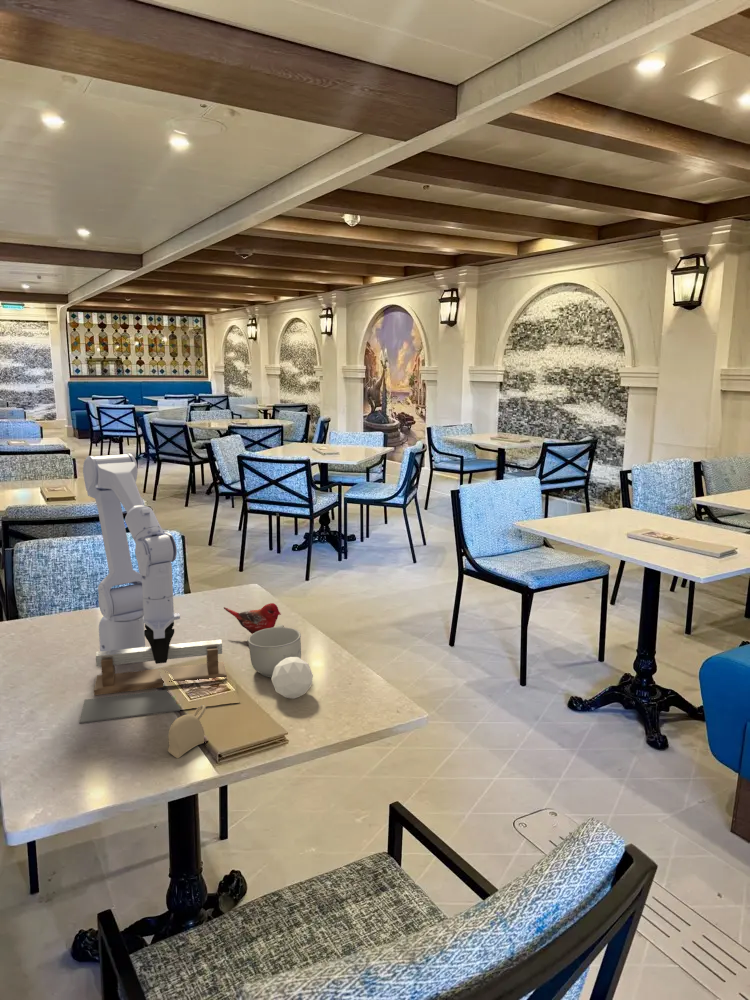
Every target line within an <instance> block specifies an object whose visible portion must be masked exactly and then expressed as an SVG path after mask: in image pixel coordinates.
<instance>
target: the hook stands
mask: <svg viewBox="0 0 750 1000" xmlns="http://www.w3.org/2000/svg"><path fill="white" fill-rule="evenodd" d="M115 666H116V665H113V660H112V659H106V660H101V666H100V667H101V674H99V675H98V674H97V675H96V678H95V682H94V683H95V684H94V689H93V694H94V696H100V695H109V694H118V693H125V692H135V691H142V690H152V689H160V688H164V687H163V683H164V681H163V680H162V678H161V676H160V673H161V672H160V671H158V670H161V669H162V670H164V671H165V670H166V671H168V672H169V673H170V674H171V675H172V676H173V679H174V680H173V679H172V680H173V681H185V680H197V679H198V680H199V679H209V678H216V677H227V670H226V666H225V662H224V661H219V654H218V649H217V648H212V649H207V655H206V663H200V664H190V665H182V666H181V665H180V666H172V667H163V668H162V667H161V668H154V669H153V668H152V669H145V670H136V671H135V670H134V671H126V672H117V673H116V670H115V669H116V668H115ZM166 671H165V673H166ZM168 672H167V673H168ZM170 680H171V679H170ZM169 682H170V681H169ZM171 682H172V681H171Z"/></svg>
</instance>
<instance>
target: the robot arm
mask: <svg viewBox="0 0 750 1000" xmlns="http://www.w3.org/2000/svg"><path fill="white" fill-rule="evenodd" d="M138 471H139V470H138V462H137V460H136V458H135V456H134V455H133V454H132V453H125V454H124V453H123V454H109V455H96V456H94V455H88V456H86V458H85V459H84V461H83V467H82V474H83V481H84V486H85V490H86V493H87V496H88V497H90V498H93V499H94V501H95V503H96V504H95V505H96V507H97V512H98V513H97V514H98V518H99V524H100V528H101V533H102V535H101V536H102V539H103V547H104V550H105V552H104V553H105V556H106V557H105V558H106V561H107V562H106V563H107V567H108V574H107V575H106V576H105V577H104V578H103V579H102V580H101V581H100V583H99V584H98V586H97V587H98V588H97V590H98V607H99V611H100V613H101V615H102V617H101V619H100V621H99V624H98V638H99V639H98V640H99V652H100V651H110V650H120V649H130V648H140V647H146V640H147V641H148V643H149V645H150V646H151V649H152V653H153V657H154V660H155V661H154V664H156V665H159V664H166V663H167V662H168V659H167V658H168V651H169V645H171V641H172V638H173V636H174V634H175V628H173V627H174V625H175V621H177V620H181V614H180V613H179V612H175V609H174V608H175V607H174V585H173V566H172V565H173V564H172V563H173V562H175V561H176V559H177V553H178V549H177V544H176V541H175V537H174V536H173V535H172V533H170V532H168V531H167V529H163V528H162V526H161V524H160V522H159V520H158V518H157V516H156V513H155V512H154V510H153V508H151V507H150V506H146V505H145V504H144V501H143V498H142V496H141V494H140V491H139V488H138V485H137V479H138V473H139V472H138ZM122 506H123V509H124V510H125V512H126V515H125V518H124V514H123V509H122ZM125 525H126V526H127V529H128V531H129V533H130V534H131V537H132V540H133V541H134V543H135V549H134V553H135V554H134V555H135V559H136V561H137V565H138V571H136V570H135V569H134V568H133V563H132V558H131V551H130V547H129V541H128V536H127V530H126V526H125ZM126 584H129V585H126ZM121 585H124V586H121ZM115 586H119V587H115ZM150 646H149V647H150Z"/></svg>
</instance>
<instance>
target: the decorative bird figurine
mask: <svg viewBox="0 0 750 1000" xmlns="http://www.w3.org/2000/svg"><path fill="white" fill-rule="evenodd" d="M223 609H224V611H226V612H227V613H229V614H230V615H232V616H233V617H235V618H236V620H237V622H239V624H240V626H242V627H243V629H246V630H247V631H248V632H249V633H250V634H251V635H252V634H253V633H255V632H257V631H260V630H262V629H267V628H273V627H276V626H275V625H276V623H277V621H278V617H279V616H280V615H282V613H281V612H280V610H279V607H278V605H277V604H275V603H274V602H270V603H268V604H264V606H262V607H261V608H260V609H252V610H245V611H241V612H237V611H235V610H232V609H231V608H227V607H225V606H224V607H223Z"/></svg>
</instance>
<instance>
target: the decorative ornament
mask: <svg viewBox="0 0 750 1000" xmlns="http://www.w3.org/2000/svg"><path fill="white" fill-rule="evenodd" d="M206 708H207V707H205V705H201V706H200V707H198V708H197V709H195V711H194V712H193V713H192V714H188V713H186V714H184V715H180V717H177V718H176V719H175V720H173V722H172V723H171V724H170V728H169V729H168V735H167V739H168V745H169V746H168V748H167V752H169V754H170V755H172V756H173V757H174V758H176V759H180V758H181V757H182V756H184V754H186V753H187V752H189V751H190V750H191V749H193V748H195V747H196V746H198V745H202V744H204V735H205V736H206V734H205V730H204V727H203V724H202V722H201V718H202V717H203V715H204V714H205V711H206Z"/></svg>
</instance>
